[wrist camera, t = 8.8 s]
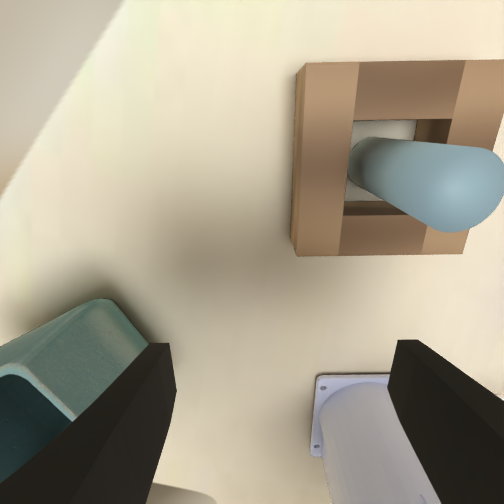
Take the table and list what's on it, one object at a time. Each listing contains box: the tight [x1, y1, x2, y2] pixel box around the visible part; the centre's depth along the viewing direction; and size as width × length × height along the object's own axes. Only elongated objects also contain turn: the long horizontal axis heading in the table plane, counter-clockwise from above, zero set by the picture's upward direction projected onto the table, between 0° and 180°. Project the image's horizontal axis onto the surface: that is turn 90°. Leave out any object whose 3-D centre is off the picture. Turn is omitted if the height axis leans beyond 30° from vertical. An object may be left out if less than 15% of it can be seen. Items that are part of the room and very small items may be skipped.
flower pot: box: [0, 299, 149, 483], centre depth 18 cm, size 9×9×9 cm
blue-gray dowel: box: [347, 137, 504, 233], centre depth 13 cm, size 3×3×8 cm
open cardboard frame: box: [290, 60, 504, 256], centre depth 16 cm, size 9×9×3 cm
